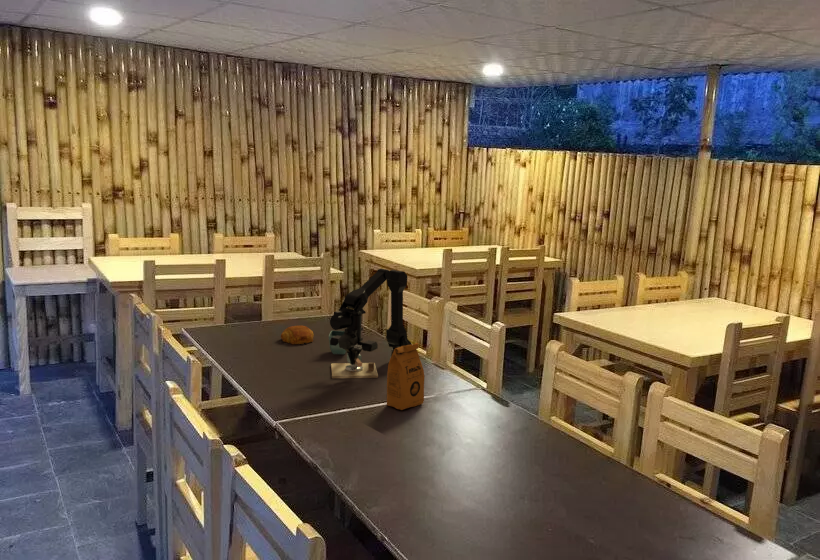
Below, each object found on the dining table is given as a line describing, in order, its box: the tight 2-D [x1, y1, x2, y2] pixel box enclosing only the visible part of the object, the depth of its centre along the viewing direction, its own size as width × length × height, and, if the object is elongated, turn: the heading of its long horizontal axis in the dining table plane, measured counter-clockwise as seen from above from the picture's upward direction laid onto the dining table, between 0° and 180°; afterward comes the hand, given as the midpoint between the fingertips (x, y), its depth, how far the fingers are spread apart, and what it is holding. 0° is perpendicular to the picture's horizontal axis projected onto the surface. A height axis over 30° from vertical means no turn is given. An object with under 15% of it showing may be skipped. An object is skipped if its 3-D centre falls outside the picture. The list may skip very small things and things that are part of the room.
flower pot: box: [328, 330, 347, 355], centre depth 290 cm, size 9×9×9 cm
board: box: [330, 362, 379, 379], centre depth 266 cm, size 18×16×1 cm
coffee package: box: [386, 342, 425, 411], centre depth 229 cm, size 10×12×22 cm
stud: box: [345, 364, 363, 372], centre depth 266 cm, size 7×7×3 cm
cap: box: [346, 352, 363, 367], centre depth 262 cm, size 11×5×3 cm, turn 19°
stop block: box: [368, 361, 375, 371], centre depth 265 cm, size 2×2×3 cm
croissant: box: [280, 325, 315, 345], centre depth 308 cm, size 14×16×8 cm
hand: (352, 364), depth 259 cm, fingers closed
